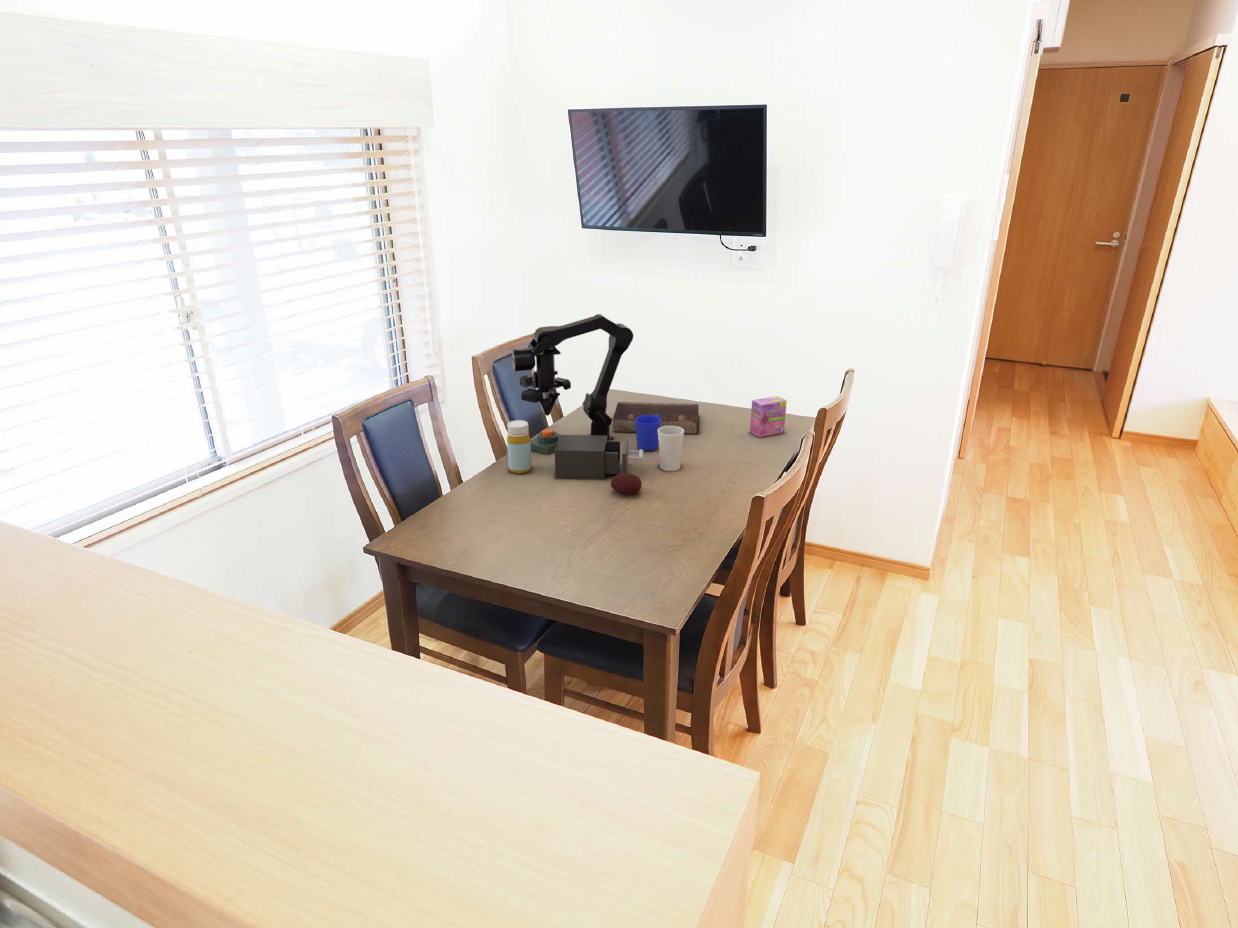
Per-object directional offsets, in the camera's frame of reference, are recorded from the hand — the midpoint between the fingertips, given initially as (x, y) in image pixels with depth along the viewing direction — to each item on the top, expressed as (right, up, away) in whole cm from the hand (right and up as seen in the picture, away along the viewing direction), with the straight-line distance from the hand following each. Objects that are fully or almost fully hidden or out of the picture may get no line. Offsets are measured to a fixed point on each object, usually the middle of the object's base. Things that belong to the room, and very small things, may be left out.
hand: (547, 415), depth 253 cm
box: (+73, -5, +14) cm, 75 cm away
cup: (+39, -17, -12) cm, 44 cm away
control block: (0, -10, +4) cm, 11 cm away
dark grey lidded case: (+12, -18, -14) cm, 26 cm away
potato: (+25, -24, -29) cm, 45 cm away
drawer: (+21, -17, -15) cm, 31 cm away
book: (+36, -2, +23) cm, 43 cm away
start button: (0, -7, +3) cm, 7 cm away
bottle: (-7, -18, -13) cm, 23 cm away
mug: (+33, -10, +4) cm, 35 cm away
